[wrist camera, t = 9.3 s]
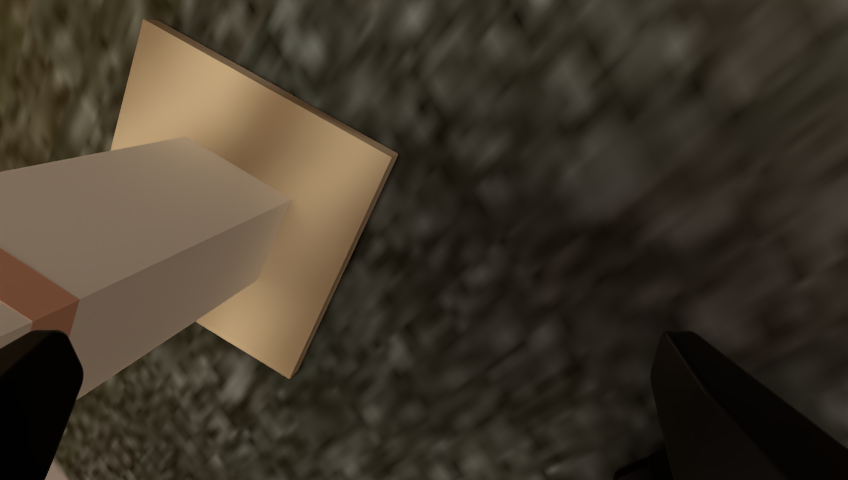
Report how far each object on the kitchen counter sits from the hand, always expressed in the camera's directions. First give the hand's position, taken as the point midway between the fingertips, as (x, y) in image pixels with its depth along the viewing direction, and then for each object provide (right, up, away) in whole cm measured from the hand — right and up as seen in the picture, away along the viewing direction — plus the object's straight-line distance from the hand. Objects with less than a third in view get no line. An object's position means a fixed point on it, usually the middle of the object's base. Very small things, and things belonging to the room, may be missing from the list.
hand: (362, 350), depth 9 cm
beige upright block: (-7, +3, +15) cm, 17 cm away
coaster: (-7, +3, +16) cm, 17 cm away
